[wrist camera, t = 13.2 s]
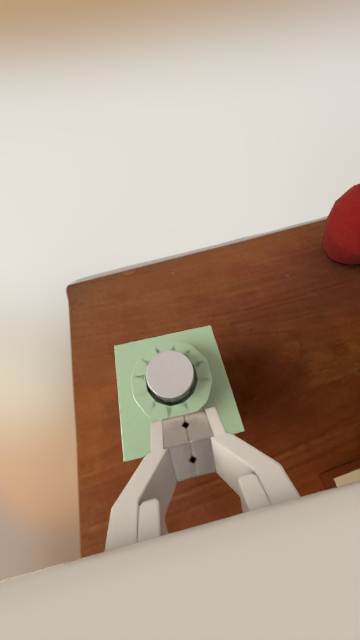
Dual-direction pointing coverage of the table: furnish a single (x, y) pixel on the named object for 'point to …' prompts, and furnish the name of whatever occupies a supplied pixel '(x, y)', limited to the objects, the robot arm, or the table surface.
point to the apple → (344, 229)
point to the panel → (341, 475)
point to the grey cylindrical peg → (170, 376)
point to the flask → (146, 407)
